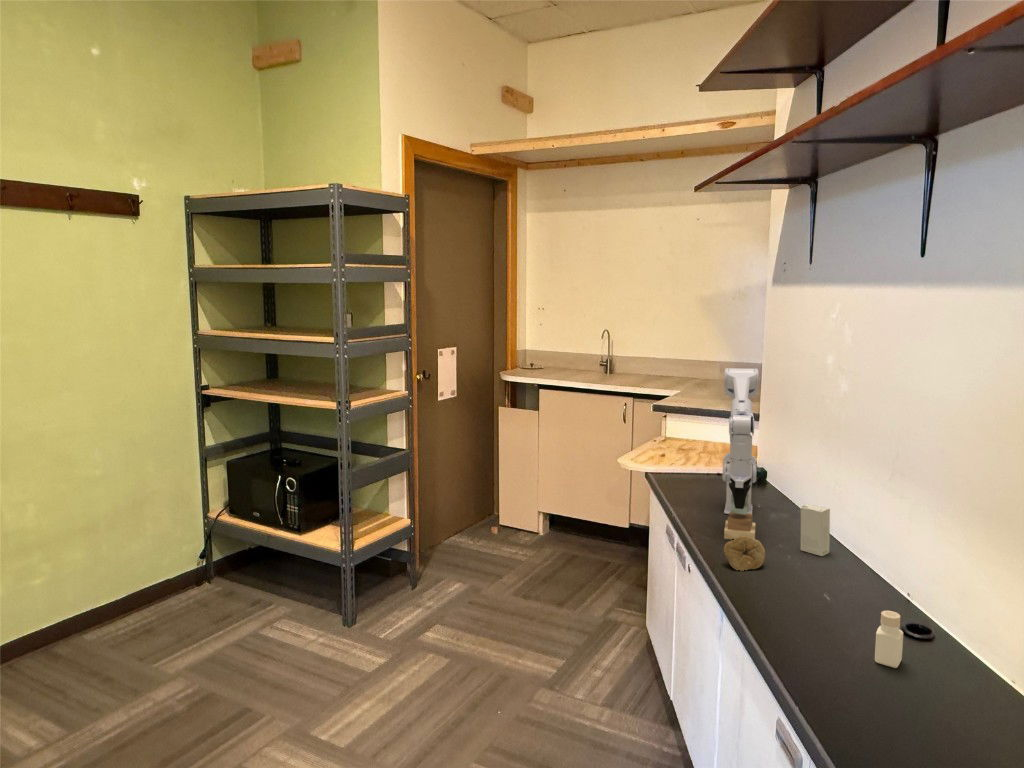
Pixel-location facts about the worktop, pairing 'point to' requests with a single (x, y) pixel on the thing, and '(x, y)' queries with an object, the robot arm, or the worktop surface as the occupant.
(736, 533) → the birch slab
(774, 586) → the worktop surface
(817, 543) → the skincare box
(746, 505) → the greenish gray cube
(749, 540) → the fossil
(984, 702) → the worktop surface
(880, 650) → the cream bottle
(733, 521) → the walnut block
